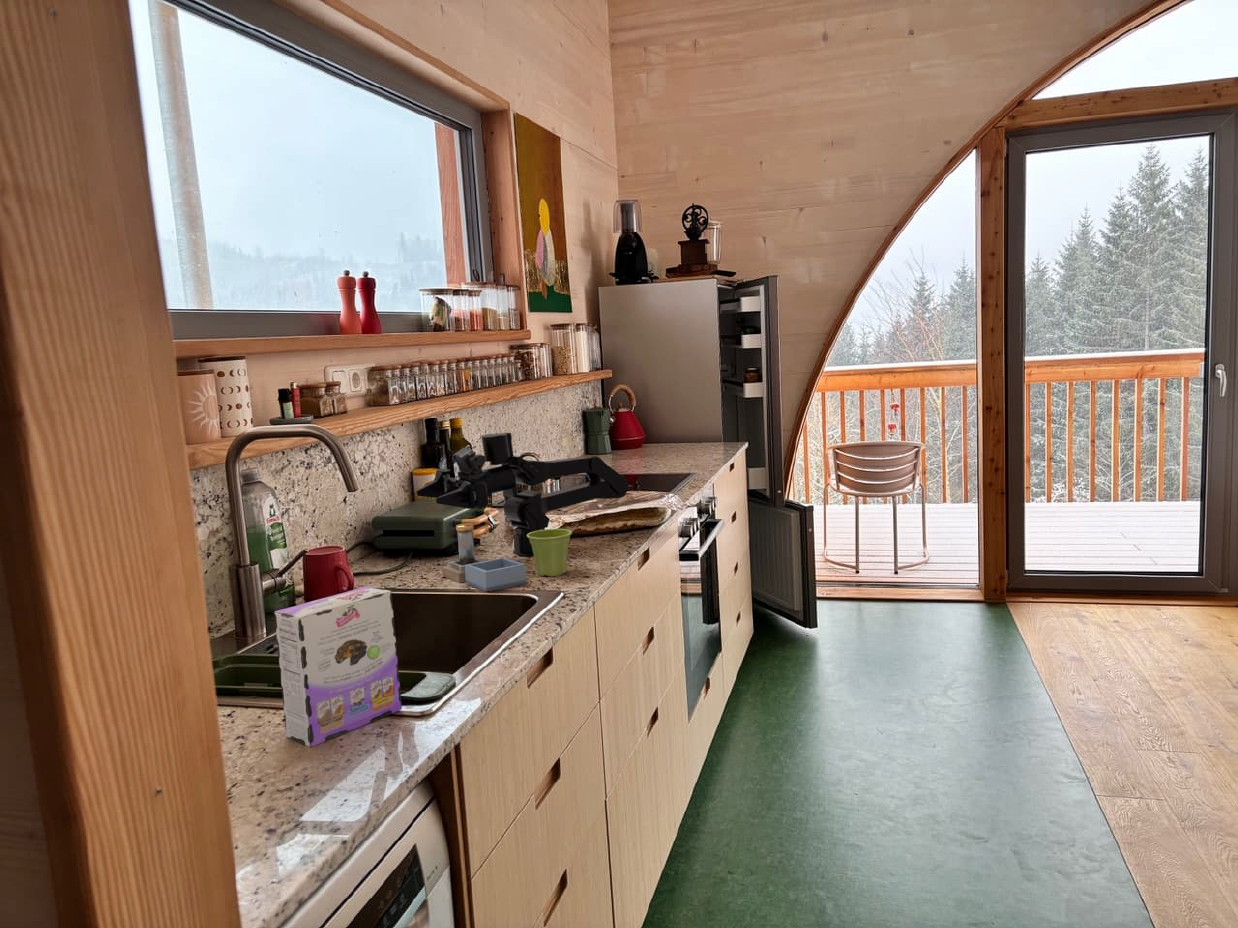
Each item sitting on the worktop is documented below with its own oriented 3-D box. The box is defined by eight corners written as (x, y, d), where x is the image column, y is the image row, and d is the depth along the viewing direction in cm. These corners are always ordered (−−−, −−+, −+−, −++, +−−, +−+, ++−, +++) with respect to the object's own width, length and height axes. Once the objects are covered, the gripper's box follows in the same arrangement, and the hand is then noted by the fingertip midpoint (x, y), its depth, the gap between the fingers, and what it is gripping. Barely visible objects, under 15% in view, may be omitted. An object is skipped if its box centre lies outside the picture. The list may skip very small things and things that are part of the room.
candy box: (376, 701, 126) (367, 584, 124) (403, 710, 122) (393, 589, 120) (284, 737, 115) (271, 609, 113) (310, 748, 111) (298, 616, 109)
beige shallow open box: (476, 569, 201) (475, 556, 200) (494, 575, 194) (493, 561, 194) (442, 576, 196) (441, 562, 196) (459, 582, 190) (458, 568, 189)
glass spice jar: (471, 563, 198) (468, 522, 196) (479, 566, 195) (476, 524, 193) (456, 566, 195) (453, 525, 194) (463, 569, 193) (460, 527, 191)
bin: (504, 576, 194) (503, 557, 193) (526, 583, 186) (525, 564, 186) (466, 584, 188) (464, 564, 188) (486, 592, 181) (485, 572, 181)
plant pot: (537, 581, 188) (535, 539, 187) (523, 572, 196) (521, 532, 195) (580, 574, 192) (578, 533, 191) (564, 566, 200) (562, 526, 199)
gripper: (465, 441, 212) (402, 454, 203) (507, 452, 198) (441, 467, 189) (470, 487, 215) (409, 502, 206) (512, 502, 200) (448, 519, 191)
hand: (426, 497), depth 198 cm, fingers open, 9 cm apart
